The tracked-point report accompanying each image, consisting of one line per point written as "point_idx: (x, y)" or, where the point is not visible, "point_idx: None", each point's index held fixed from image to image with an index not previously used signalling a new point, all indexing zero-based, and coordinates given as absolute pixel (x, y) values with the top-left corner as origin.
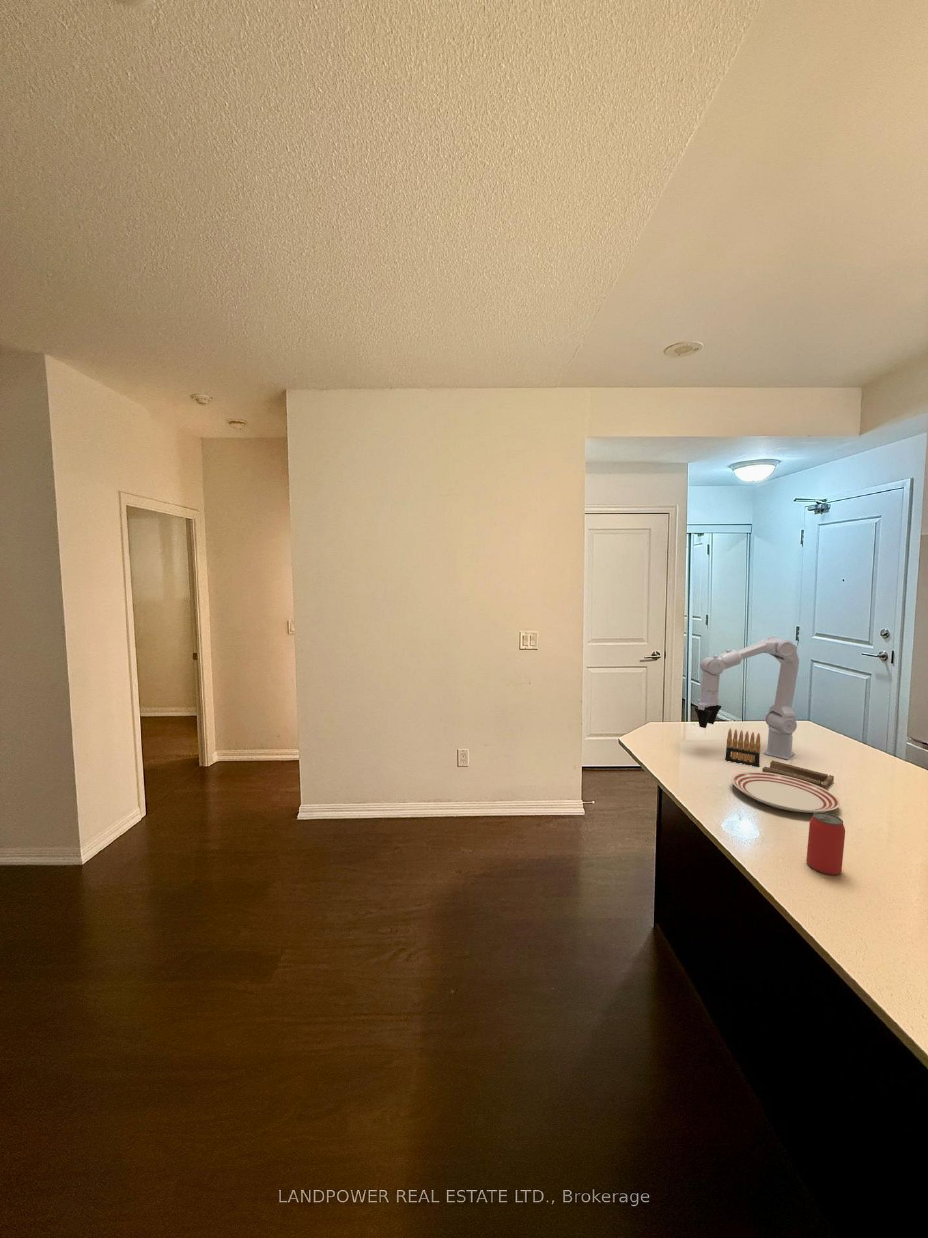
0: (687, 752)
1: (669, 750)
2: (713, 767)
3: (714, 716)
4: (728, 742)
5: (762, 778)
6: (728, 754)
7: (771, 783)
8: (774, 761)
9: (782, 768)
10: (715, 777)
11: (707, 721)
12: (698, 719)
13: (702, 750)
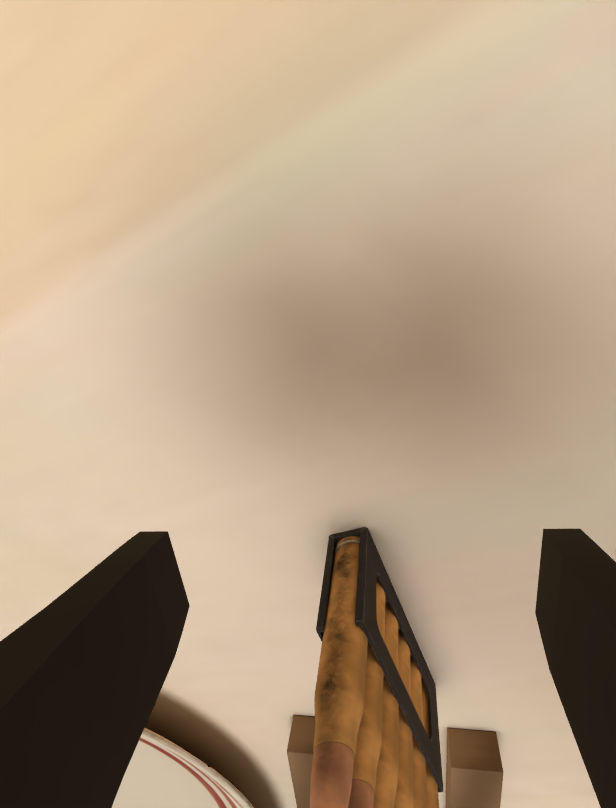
0: (245, 255)
1: (126, 94)
2: (131, 526)
3: (610, 803)
4: (316, 684)
5: (168, 751)
6: (328, 594)
7: (172, 769)
8: (489, 780)
9: (448, 787)
10: (5, 580)
11: (122, 745)
12: (19, 632)
13: (435, 321)
